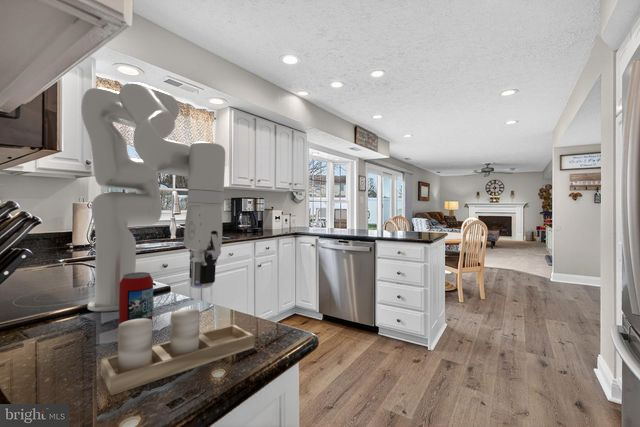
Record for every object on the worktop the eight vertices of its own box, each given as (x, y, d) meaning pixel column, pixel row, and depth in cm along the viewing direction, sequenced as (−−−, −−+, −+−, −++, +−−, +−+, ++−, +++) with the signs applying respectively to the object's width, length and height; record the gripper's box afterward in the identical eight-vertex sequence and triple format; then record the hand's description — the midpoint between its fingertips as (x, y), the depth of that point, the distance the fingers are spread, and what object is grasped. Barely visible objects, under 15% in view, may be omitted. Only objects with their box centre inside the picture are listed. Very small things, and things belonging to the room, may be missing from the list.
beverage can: (137, 332, 68) (138, 278, 68) (111, 329, 70) (112, 276, 70) (158, 322, 75) (159, 272, 75) (134, 319, 76) (135, 270, 76)
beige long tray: (100, 374, 51) (101, 322, 51) (233, 335, 68) (234, 296, 68) (111, 395, 45) (112, 337, 45) (253, 347, 62) (254, 305, 62)
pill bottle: (217, 285, 71) (219, 248, 71) (201, 290, 67) (203, 251, 66) (201, 282, 73) (203, 246, 73) (185, 286, 69) (187, 248, 68)
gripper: (174, 197, 73) (170, 274, 73) (205, 199, 61) (201, 292, 61) (205, 199, 78) (202, 271, 79) (240, 201, 66) (236, 286, 66)
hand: (201, 279), depth 70 cm, fingers closed on pill bottle, 4 cm apart
